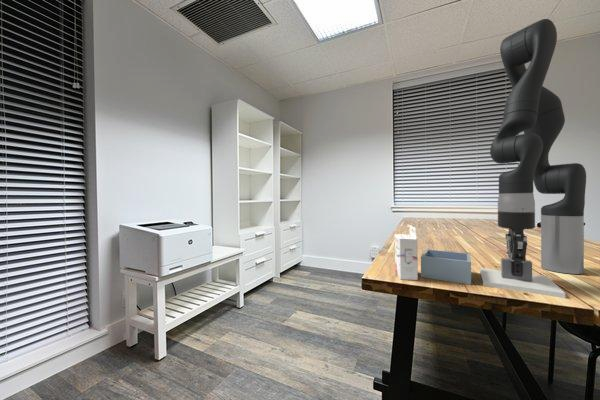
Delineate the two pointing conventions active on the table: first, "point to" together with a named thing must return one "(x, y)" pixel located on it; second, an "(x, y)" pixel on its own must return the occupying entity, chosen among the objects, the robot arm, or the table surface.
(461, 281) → the gray open box
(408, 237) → the ink cartridge box
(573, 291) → the table surface
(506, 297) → the table surface
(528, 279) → the lid
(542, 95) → the robot arm
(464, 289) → the table surface
